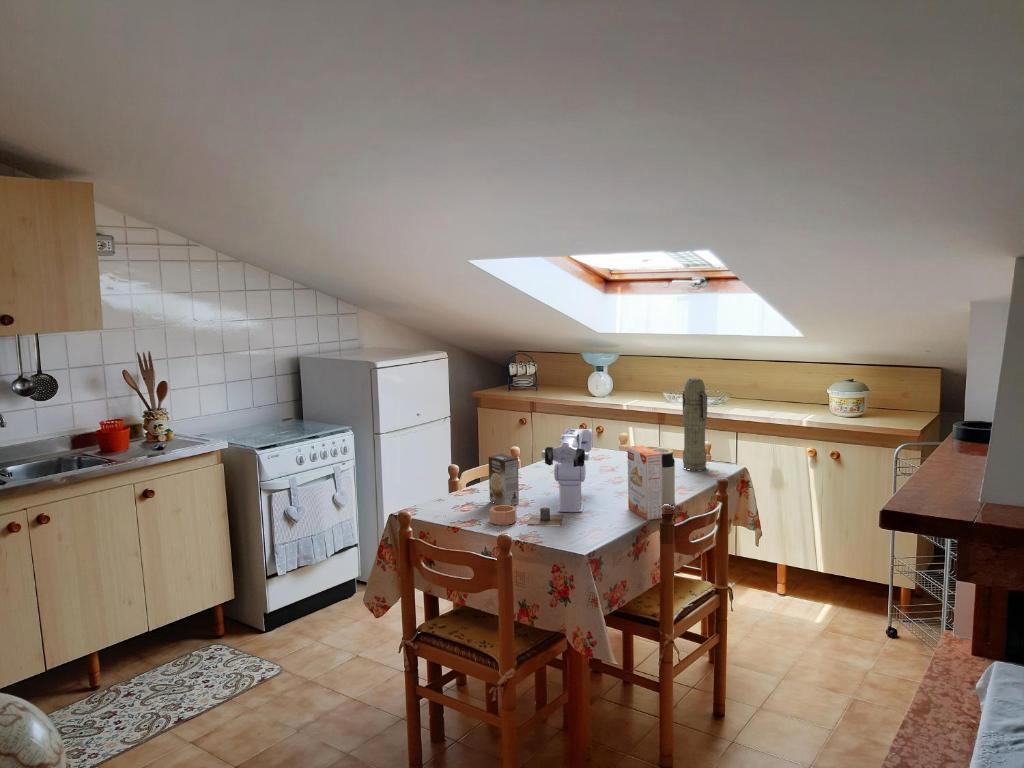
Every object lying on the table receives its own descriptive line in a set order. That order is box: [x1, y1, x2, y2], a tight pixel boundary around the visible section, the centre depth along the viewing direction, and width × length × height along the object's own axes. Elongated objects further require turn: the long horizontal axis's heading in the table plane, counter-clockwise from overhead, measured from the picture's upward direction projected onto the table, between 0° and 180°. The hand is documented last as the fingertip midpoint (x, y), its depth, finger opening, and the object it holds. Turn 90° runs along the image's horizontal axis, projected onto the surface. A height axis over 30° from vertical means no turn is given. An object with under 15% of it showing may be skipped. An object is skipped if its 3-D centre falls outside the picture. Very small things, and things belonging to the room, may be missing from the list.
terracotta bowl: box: [489, 505, 518, 526], centre depth 255 cm, size 8×8×4 cm
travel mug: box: [651, 447, 676, 506], centre depth 269 cm, size 8×8×18 cm
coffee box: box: [488, 453, 520, 506], centre depth 275 cm, size 9×6×16 cm
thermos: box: [682, 378, 708, 471], centre depth 314 cm, size 9×12×35 cm
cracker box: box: [627, 445, 664, 521], centre depth 258 cm, size 14×6×21 cm, turn 16°
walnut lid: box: [527, 506, 564, 526], centre depth 255 cm, size 10×10×4 cm
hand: (561, 463), depth 245 cm, fingers open, 7 cm apart
